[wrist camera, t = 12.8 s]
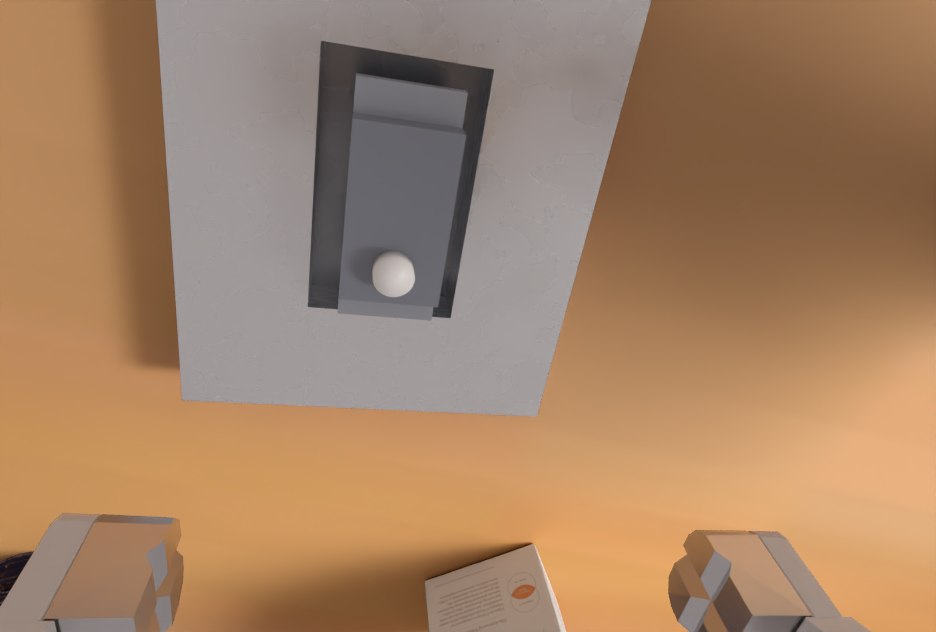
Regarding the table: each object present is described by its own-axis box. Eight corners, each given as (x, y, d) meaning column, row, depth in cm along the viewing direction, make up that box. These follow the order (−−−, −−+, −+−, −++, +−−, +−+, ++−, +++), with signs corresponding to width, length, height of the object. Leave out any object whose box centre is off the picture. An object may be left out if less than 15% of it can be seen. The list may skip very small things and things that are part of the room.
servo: (454, 77, 25) (476, 102, 20) (424, 281, 30) (435, 343, 25) (357, 61, 24) (354, 84, 19) (341, 273, 29) (335, 336, 24)
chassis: (643, -64, 24) (670, -68, 22) (526, 388, 34) (536, 416, 32) (167, -171, 20) (143, -189, 18) (195, 370, 31) (182, 400, 28)
